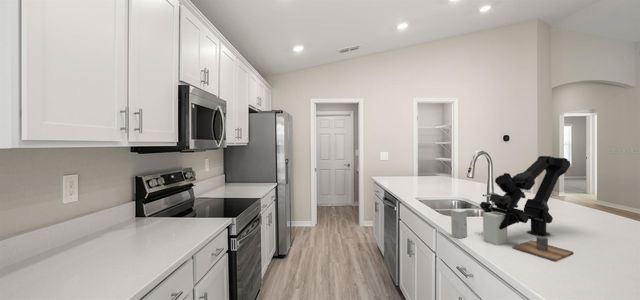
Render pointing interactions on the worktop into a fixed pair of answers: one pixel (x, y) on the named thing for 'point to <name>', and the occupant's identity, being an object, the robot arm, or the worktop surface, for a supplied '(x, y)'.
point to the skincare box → (459, 223)
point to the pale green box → (494, 228)
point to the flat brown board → (543, 249)
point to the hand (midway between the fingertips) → (492, 226)
